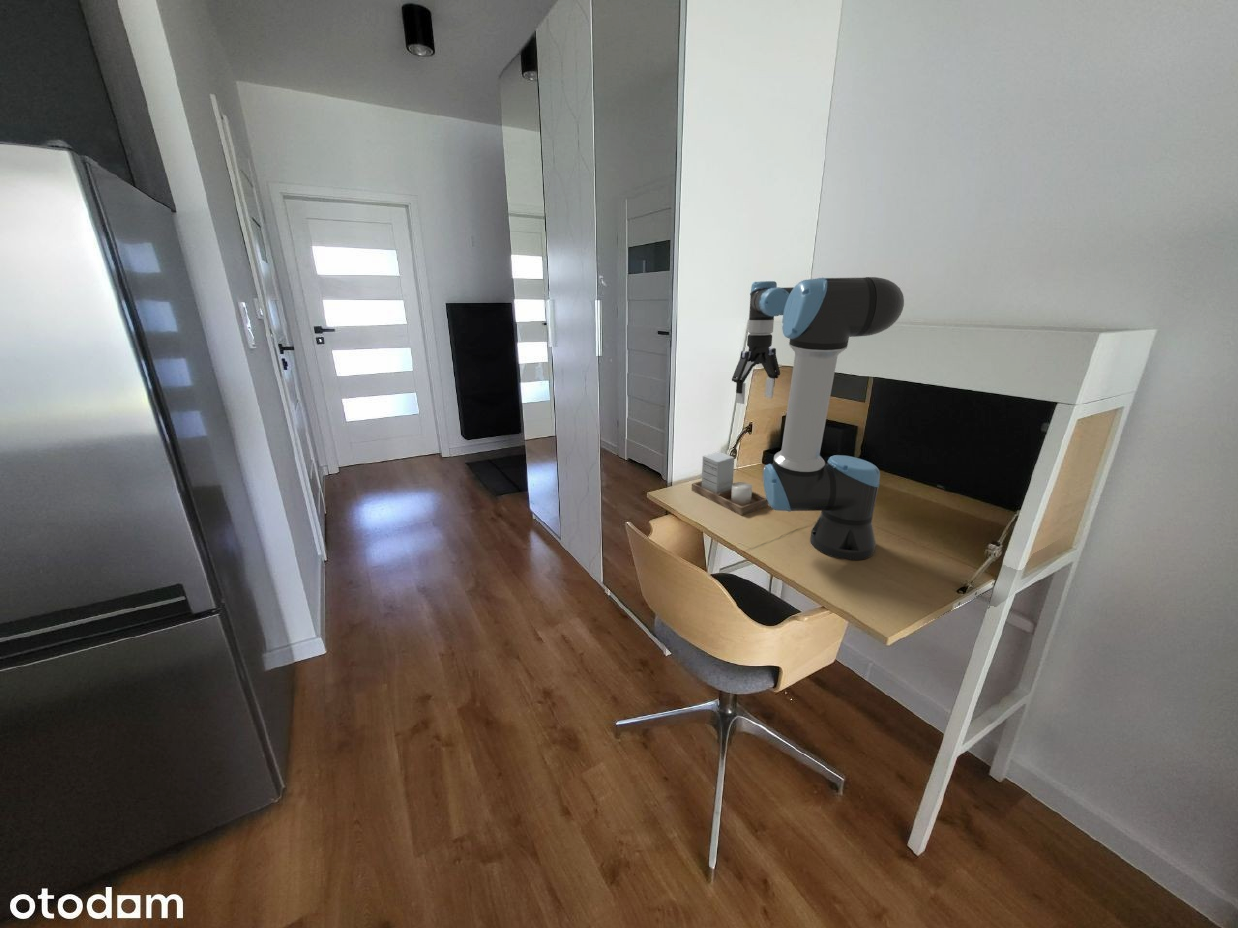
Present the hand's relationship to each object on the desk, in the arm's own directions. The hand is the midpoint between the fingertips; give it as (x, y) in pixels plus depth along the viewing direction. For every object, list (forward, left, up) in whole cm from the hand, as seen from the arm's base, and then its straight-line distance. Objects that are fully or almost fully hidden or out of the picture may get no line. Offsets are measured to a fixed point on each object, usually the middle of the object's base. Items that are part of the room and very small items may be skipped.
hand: (754, 400), depth 151 cm
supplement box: (-3, +18, -28) cm, 33 cm away
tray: (-8, +17, -29) cm, 34 cm away
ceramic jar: (-13, +17, -28) cm, 36 cm away
